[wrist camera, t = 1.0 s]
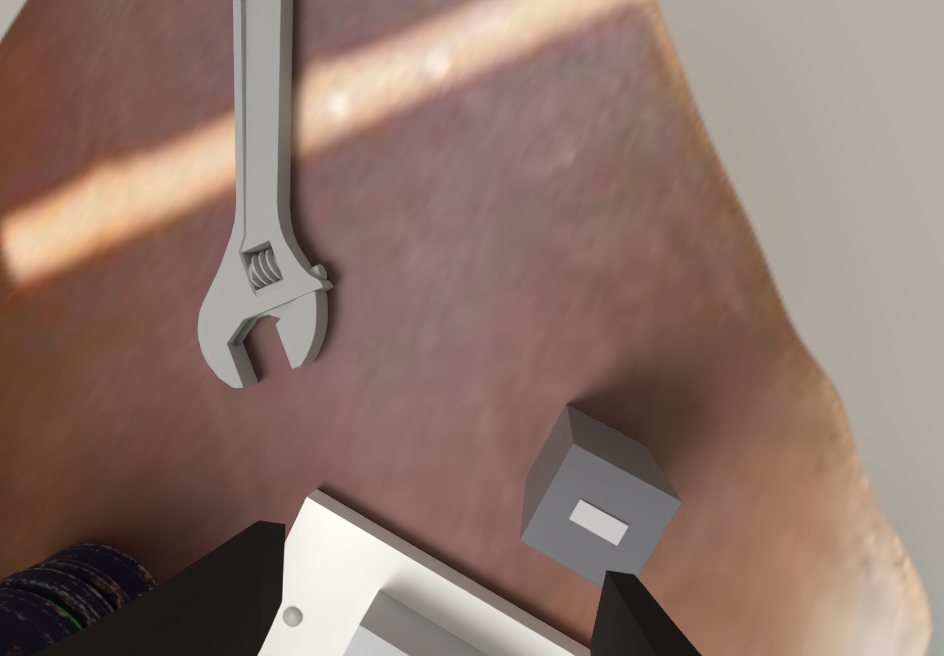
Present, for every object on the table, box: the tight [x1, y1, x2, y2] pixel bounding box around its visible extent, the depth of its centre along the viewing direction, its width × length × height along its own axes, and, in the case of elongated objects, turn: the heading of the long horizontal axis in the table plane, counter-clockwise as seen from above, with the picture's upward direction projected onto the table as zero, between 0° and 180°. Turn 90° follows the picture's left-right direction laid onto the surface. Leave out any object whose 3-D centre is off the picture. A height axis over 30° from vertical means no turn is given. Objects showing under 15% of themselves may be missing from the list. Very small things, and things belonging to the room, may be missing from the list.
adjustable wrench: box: [198, 0, 334, 388], centre depth 23 cm, size 25×6×2 cm, turn 174°
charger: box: [520, 404, 682, 588], centre depth 19 cm, size 4×4×6 cm
